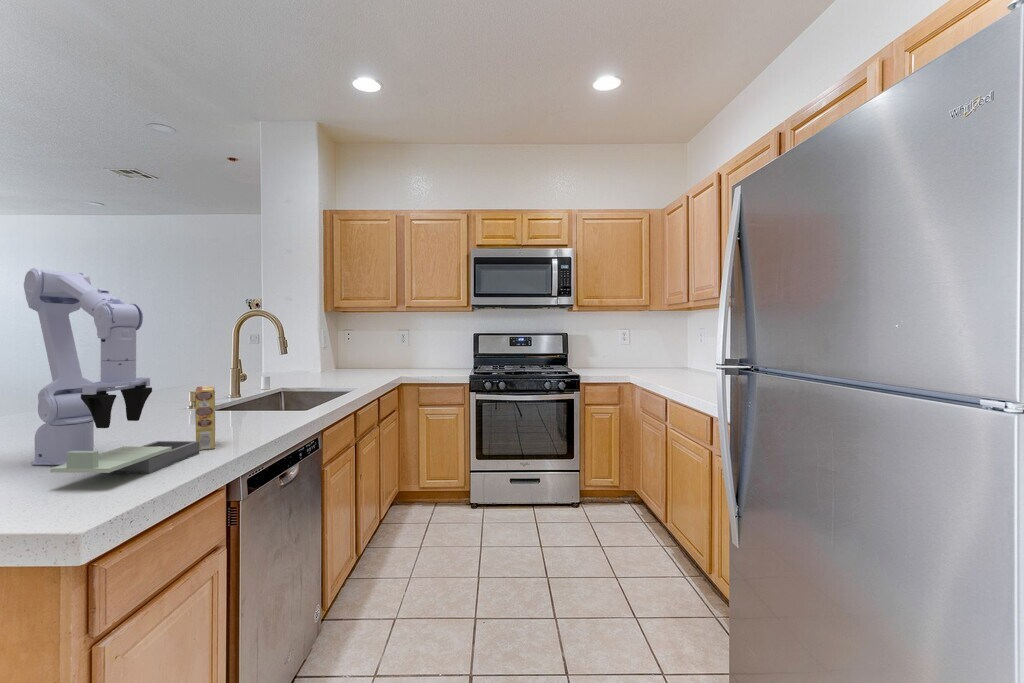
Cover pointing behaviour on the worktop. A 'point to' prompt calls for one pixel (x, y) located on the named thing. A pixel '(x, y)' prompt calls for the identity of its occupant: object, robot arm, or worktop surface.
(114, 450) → the lid
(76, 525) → the worktop surface
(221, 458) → the worktop surface
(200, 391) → the candy box
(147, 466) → the tub
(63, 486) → the worktop surface
